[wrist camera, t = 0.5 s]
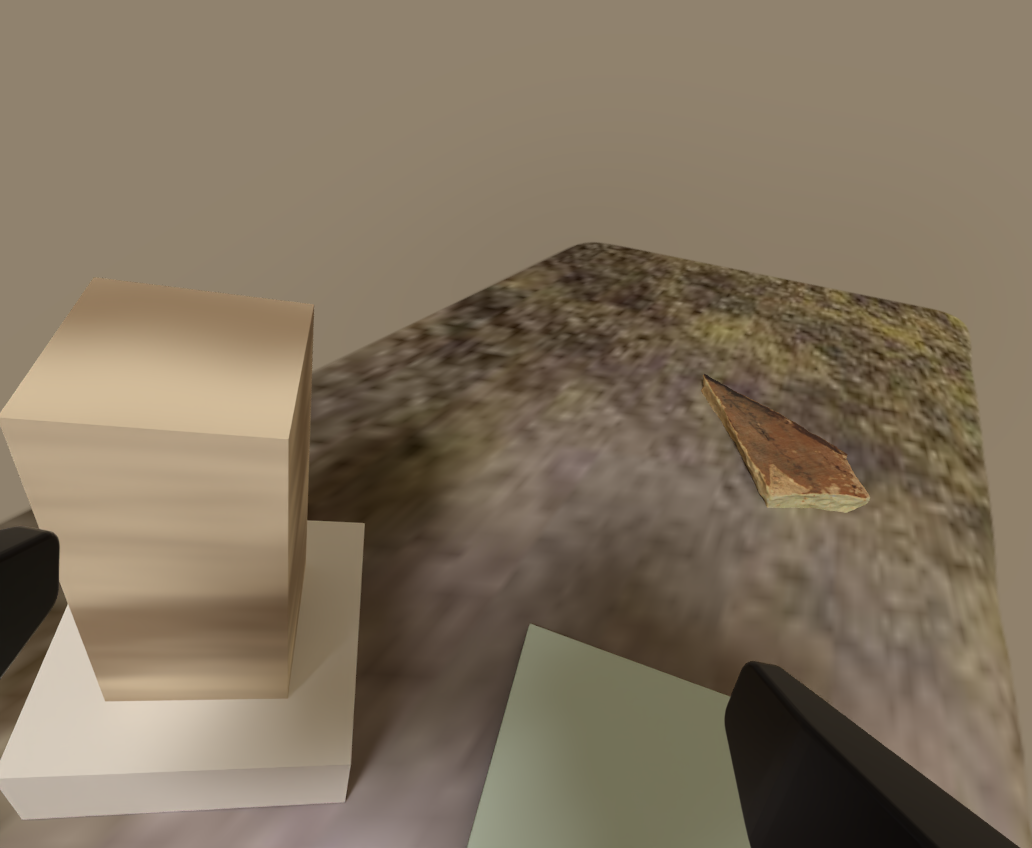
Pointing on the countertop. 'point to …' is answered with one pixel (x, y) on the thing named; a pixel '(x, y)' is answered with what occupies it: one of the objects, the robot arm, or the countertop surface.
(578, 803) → the mat
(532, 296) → the countertop surface
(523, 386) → the countertop surface
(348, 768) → the stand
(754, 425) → the shard
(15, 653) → the robot arm
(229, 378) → the oak block
